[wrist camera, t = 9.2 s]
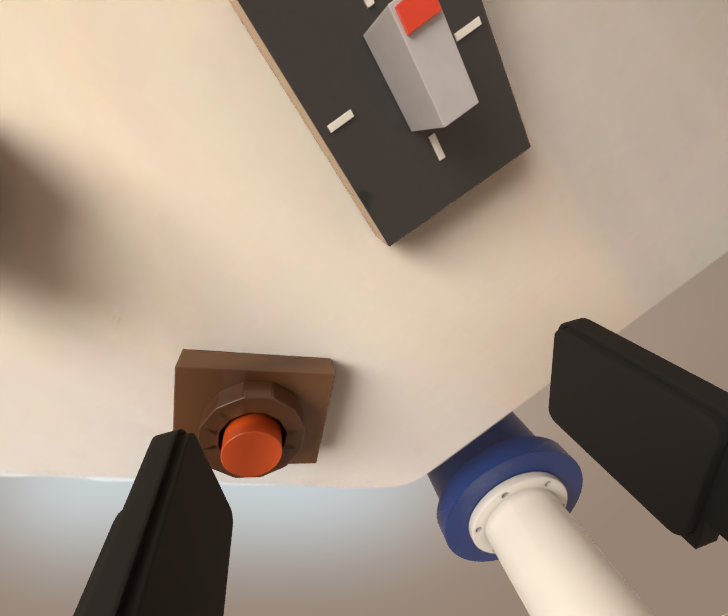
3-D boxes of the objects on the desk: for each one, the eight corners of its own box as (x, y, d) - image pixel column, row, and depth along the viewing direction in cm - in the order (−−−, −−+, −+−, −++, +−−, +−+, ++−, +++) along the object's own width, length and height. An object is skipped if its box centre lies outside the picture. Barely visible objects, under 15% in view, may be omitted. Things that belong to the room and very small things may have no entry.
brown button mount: (330, 358, 27) (340, 390, 23) (313, 442, 29) (319, 483, 26) (182, 348, 24) (167, 383, 20) (178, 443, 26) (164, 489, 23)
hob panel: (501, 147, 23) (533, 147, 21) (375, 236, 24) (390, 248, 21) (399, -126, 17) (424, -180, 14) (228, 1, 17) (221, -27, 15)
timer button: (284, 413, 23) (285, 432, 22) (277, 455, 25) (278, 476, 23) (225, 412, 22) (222, 431, 21) (221, 456, 23) (218, 478, 22)
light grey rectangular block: (439, 111, 19) (482, 101, 15) (411, 132, 19) (447, 127, 15) (394, 11, 17) (431, -30, 13) (362, 35, 17) (389, 1, 13)
